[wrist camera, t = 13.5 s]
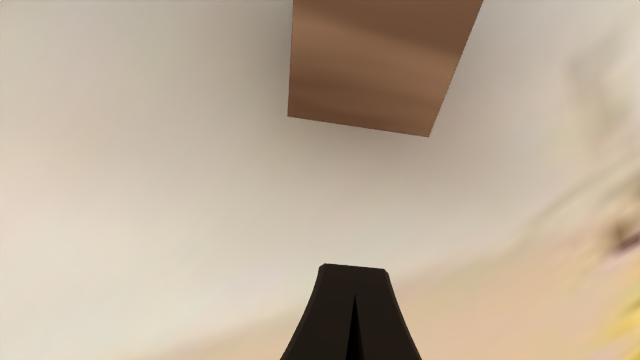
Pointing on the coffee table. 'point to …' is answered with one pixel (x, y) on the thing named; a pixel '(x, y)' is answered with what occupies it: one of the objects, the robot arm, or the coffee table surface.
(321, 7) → the pushed domino
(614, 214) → the coffee table surface
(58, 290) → the coffee table surface
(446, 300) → the coffee table surface
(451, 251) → the coffee table surface
